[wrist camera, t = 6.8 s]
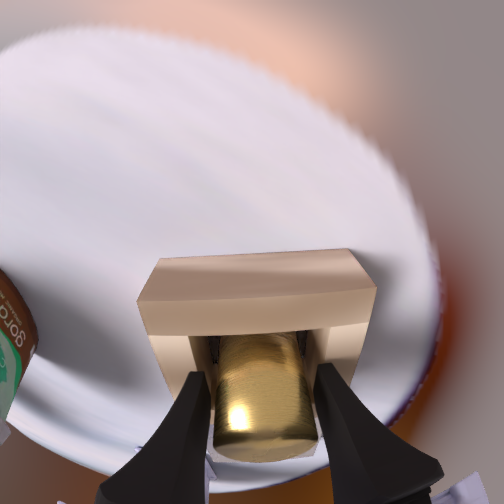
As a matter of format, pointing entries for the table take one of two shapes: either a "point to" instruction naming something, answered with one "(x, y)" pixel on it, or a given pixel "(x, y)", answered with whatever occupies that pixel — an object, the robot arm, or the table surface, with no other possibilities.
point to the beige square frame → (256, 309)
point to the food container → (13, 346)
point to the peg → (262, 399)
